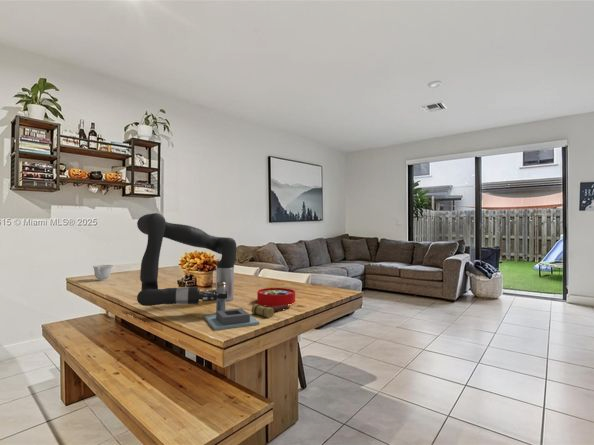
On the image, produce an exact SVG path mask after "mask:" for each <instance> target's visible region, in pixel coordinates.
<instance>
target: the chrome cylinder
mask: <svg viewBox="0 0 594 445" xmlns="http://www.w3.org/2000/svg"><path fill="white" fill-rule="evenodd" d="M217 293H218V295H219V294H221V293H226V282H217ZM215 302H216V305H215V307H216V308H215V312H216V311H219V310H226V302H227V301H226V299H219V298H218V299H217V300H216V301H215Z"/></svg>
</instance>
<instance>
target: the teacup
mask: <svg viewBox="0 0 594 445" xmlns="http://www.w3.org/2000/svg"><path fill="white" fill-rule="evenodd" d="M112 267H113V265H112V264H97V265H95V264H94V265H93V266H92V268H93V272H94V277H95V278H96V279H97V281H99V282H101V281H103V282H104V281H105V282H106V281H107V280H108V278H109V277H110V276H111V273H112Z"/></svg>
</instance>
